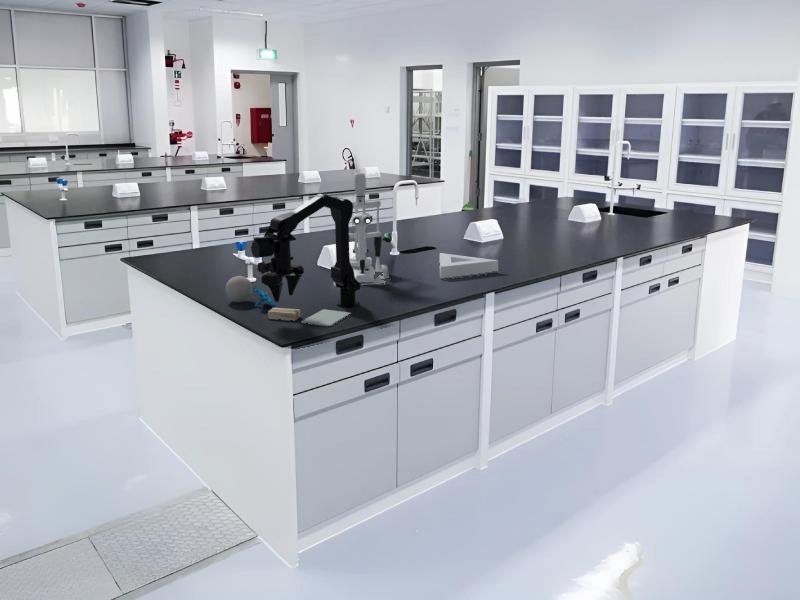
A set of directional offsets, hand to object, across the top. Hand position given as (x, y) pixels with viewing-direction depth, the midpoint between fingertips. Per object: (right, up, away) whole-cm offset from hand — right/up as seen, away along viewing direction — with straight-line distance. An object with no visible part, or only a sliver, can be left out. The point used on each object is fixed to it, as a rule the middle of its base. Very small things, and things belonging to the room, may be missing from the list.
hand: (283, 298), depth 241 cm
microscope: (+24, +8, +58) cm, 63 cm away
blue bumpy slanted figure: (-10, -3, +16) cm, 19 cm away
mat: (+15, -7, +1) cm, 16 cm away
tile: (0, -7, +2) cm, 7 cm away
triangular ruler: (+71, +11, +72) cm, 102 cm away
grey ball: (-20, -1, +21) cm, 29 cm away
